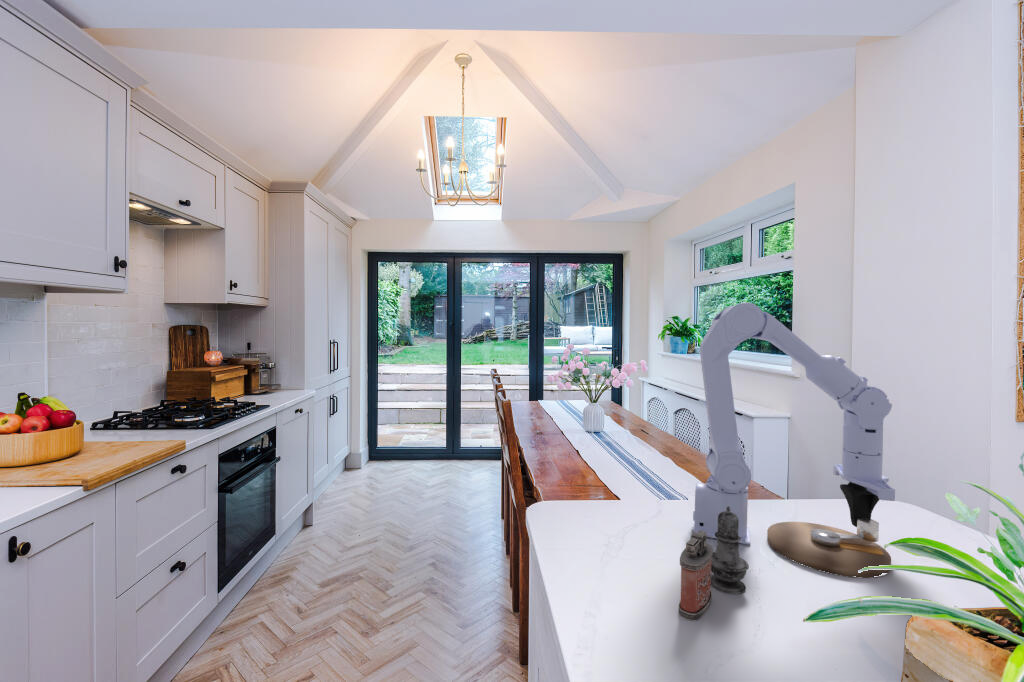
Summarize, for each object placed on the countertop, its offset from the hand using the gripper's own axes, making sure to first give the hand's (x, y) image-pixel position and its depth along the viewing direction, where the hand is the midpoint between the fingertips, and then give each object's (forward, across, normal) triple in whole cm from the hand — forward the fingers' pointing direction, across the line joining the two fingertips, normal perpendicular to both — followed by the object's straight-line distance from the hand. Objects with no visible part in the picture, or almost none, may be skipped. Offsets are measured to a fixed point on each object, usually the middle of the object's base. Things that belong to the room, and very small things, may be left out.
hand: (860, 526), depth 82 cm
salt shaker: (+4, -17, +28) cm, 33 cm away
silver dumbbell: (+2, -2, +4) cm, 5 cm away
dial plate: (+4, -2, +7) cm, 8 cm away
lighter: (+4, -24, +34) cm, 42 cm away
